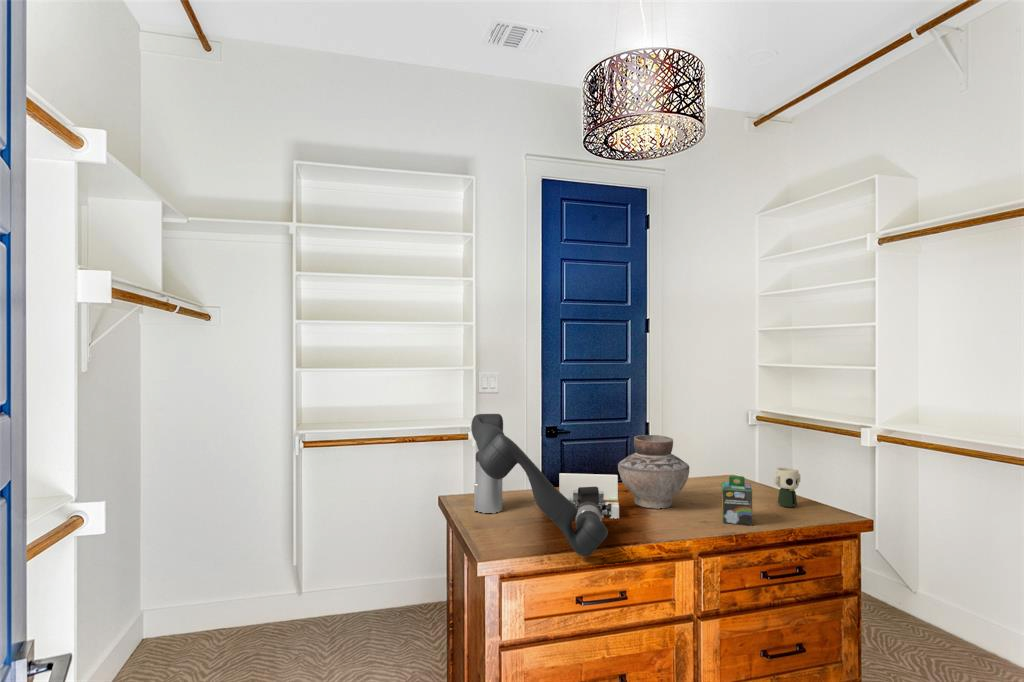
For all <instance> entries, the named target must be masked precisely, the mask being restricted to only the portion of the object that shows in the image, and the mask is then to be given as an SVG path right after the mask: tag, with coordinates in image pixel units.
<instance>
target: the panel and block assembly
mask: <svg viewBox="0 0 1024 682" xmlns="http://www.w3.org/2000/svg"><path fill="white" fill-rule="evenodd" d="M558 474H559V475H558V476H559V477H558V478H559V479H558V480H559V486H558V487H559V489H558V491H559V492H560V493H561V494H562V495H564V496H565V497H566V498H567V499H568V500H569V501H570V502H572V501H573V490H576V491H578V488H579V487H598V490H599V491H603V492H604V499H605V500H619V497H618V496H619V494H618V491H619V490H618V489H619V486H618V485H619V483H618V481H619V480H618V479H619V476H618V474H604V473H603V474H599V473H598V474H594V473H564V472H563V473H562V472H560V473H558ZM605 503H606V505H608V504H612V507H611V511H612V513H611V517H609V519H613V518H614V519H617V518H618V519H620V505H619V504H620V503H615V502H605Z"/></svg>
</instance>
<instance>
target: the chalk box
mask: <svg viewBox="0 0 1024 682" xmlns="http://www.w3.org/2000/svg"><path fill="white" fill-rule="evenodd" d="M728 477H729V478H728V482H727V481H723V482H722V483H721V497H722V502H721V504H722V507H721V508H722V523H723V524H733V525H741V524H743V525H742V526H750V525H752V526H753V525H754V524H753V489H752V485H751V483H750V482H745V481H746V480H745V476H742V475H729V476H728ZM734 480H739V482H735V481H734Z"/></svg>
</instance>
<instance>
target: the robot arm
mask: <svg viewBox="0 0 1024 682" xmlns="http://www.w3.org/2000/svg"><path fill="white" fill-rule="evenodd" d="M470 428H471V429H470V430H471V435H472V437H473V439H474V441H475V443H476V447H477V451H476V453H475V482H474V486H473V487H474V488H473V489H474V490H473V491H474V494H473V495H474V496H473V498H474V501H473V503H474V504H473V505H474V506H473V507H474V508H473V511H478V512H477V513H479V512H482V513H481V514H485V513H492V514H497V513H496V512H498V513H500V511H501V512H502V511H503V479H504V478H505V477H506V476H508V474H509V473H511V471H512V470H513V469H514V468H515V466H516V465H518V464H519V466H520V467H521V468H522V469H523V471H524V472H525V474H526V476H527V478H528V480H529V484H530V487H531V490H532V494H533V498H534V500H535V503H536V505H537V506H538V508H539V509H540V511H541V512H542V513H543V514H544V515H545V516H547V518H548V519H549V520H551V521H552V522H553V523H554V524H555V525H556V526H557V527H558V528H559V530H560V531H561V532H562V533H563V536H564V537H565V538H566V539H567V542H568V543H569V545H570V547H571V548H572V550H573V551H574V552H575V553H576V554H577V555H578V556H580V557H584V558H587V557H590V556H591V555H592V554H594V552H595V551H596V550H597V549H598V548H599V546H600V545H601V544H602V543H603V542H604V541H605V539H607V537H608V533H609V532H608V531H609V530H608V528H607V526H606V525H605V523H604V522H603V521H602V520H603V518H602V514H604V515H605V516H607V517H608V518H610V517H611V513H612V511H611V507H612V504H608V505H606V503H605V502H603V500H601V504H600V503H597V504H595V503H593V502H589V501H587V502H583V503H579V502H578V503H576V500H574V501H572V502H570V501H569V500H568V499H567V498H566V497H565V496H564V495H562V494H561V493H560V492H559V489H558V488H556V487H555V486H554V484H552V483H551V482H550V480H549V479H548V478H547V477H546V476H545V475H544V473H543V472H542V471H541V470H540V469H539V468H538V466H537V465H536V464H535V463H534V462H533V461H532V459H530V457H529V456H528V455H527V454H526V453H525V452H524V451H523V450H522V449H521V448H520V447H519V446H518V445H517V443H515V442H514V441H513V440H512V439H511V438H509V436H506V435H505V432H504V420H503V417H502V415H501V414H500V413H479V414H475V415H474V416H473V417H472V420H471V426H470ZM575 518H576V522H575V530H574V528H573V521H574V520H575Z"/></svg>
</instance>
